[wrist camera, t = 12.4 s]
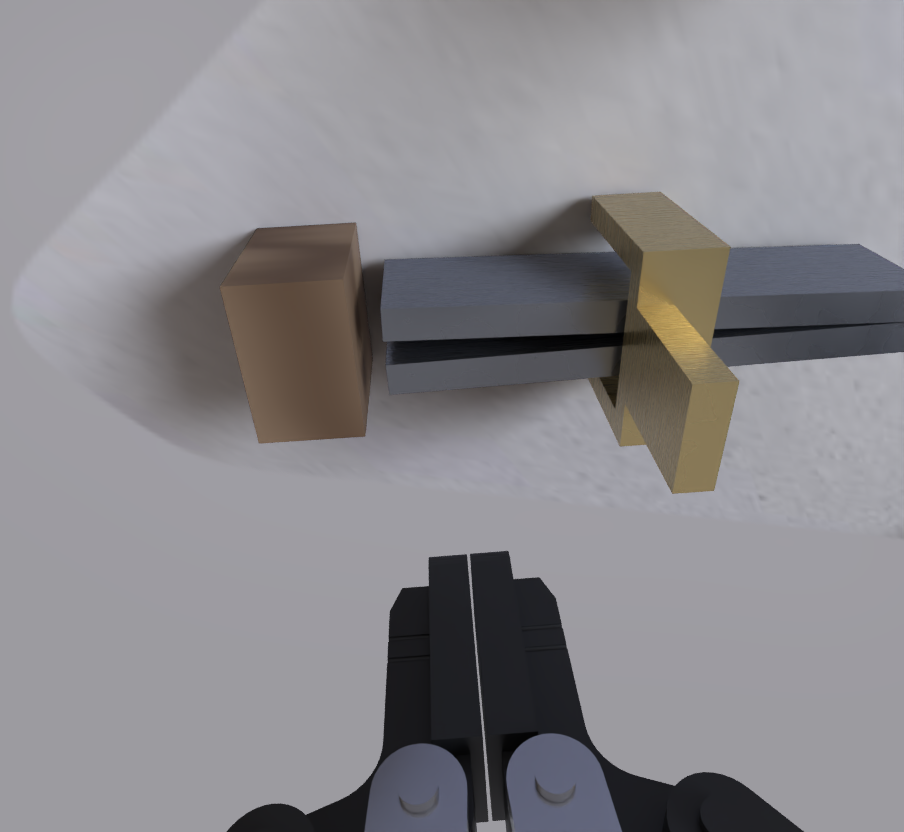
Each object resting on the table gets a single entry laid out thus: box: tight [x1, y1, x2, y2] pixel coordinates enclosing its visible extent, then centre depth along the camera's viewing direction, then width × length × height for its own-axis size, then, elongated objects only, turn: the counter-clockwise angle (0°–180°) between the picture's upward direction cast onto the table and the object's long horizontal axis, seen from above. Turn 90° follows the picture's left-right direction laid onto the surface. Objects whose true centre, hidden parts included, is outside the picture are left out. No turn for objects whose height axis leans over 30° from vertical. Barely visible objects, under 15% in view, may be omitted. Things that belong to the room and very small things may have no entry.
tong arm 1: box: [386, 322, 904, 395], centre depth 21 cm, size 16×1×4 cm, turn 94°
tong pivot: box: [220, 223, 373, 443], centre depth 20 cm, size 3×5×5 cm, turn 3°
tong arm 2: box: [380, 244, 904, 342], centre depth 20 cm, size 16×1×4 cm, turn 91°
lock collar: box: [588, 192, 739, 494], centre depth 19 cm, size 2×6×9 cm, turn 2°
